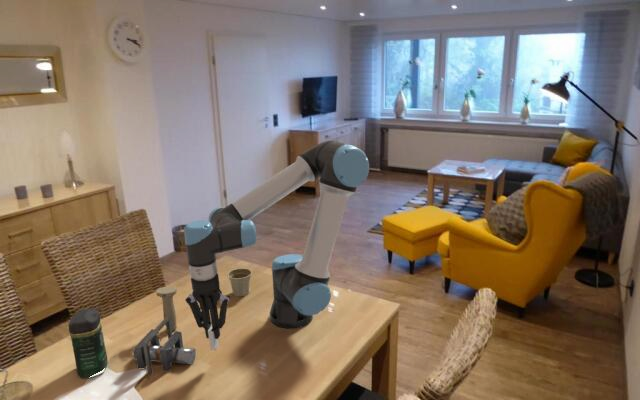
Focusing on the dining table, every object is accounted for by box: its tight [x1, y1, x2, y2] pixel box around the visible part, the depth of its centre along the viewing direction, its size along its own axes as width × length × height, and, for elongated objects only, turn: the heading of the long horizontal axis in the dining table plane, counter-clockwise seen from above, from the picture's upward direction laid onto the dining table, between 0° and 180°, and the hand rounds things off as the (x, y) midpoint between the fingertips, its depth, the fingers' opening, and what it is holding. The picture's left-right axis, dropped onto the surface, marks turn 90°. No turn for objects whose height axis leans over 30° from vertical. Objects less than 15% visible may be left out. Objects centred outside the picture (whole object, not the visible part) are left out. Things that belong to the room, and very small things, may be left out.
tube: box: [133, 344, 197, 365], centre depth 136 cm, size 18×4×4 cm, turn 80°
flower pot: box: [226, 267, 253, 298], centre depth 175 cm, size 9×9×9 cm
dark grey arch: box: [160, 330, 184, 372], centre depth 135 cm, size 2×10×7 cm, turn 170°
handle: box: [155, 286, 178, 332], centre depth 151 cm, size 5×6×15 cm
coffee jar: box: [67, 307, 109, 379], centre depth 131 cm, size 10×8×19 cm
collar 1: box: [134, 328, 161, 369], centre depth 137 cm, size 2×10×7 cm, turn 170°
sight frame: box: [143, 316, 175, 376], centre depth 135 cm, size 1×14×11 cm, turn 170°
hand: (214, 346), depth 133 cm, fingers closed
